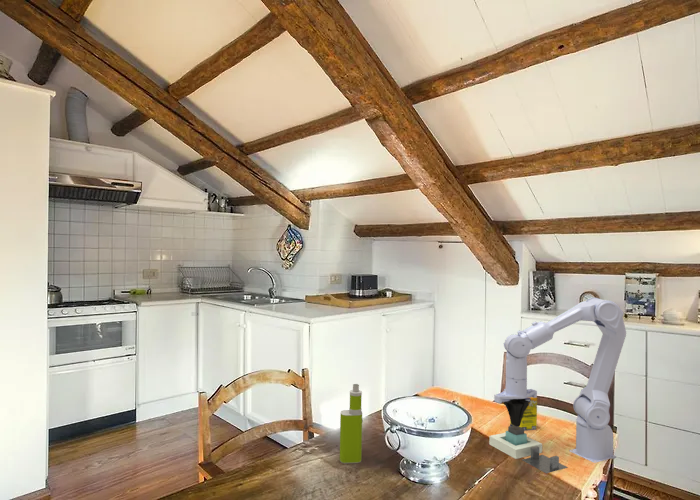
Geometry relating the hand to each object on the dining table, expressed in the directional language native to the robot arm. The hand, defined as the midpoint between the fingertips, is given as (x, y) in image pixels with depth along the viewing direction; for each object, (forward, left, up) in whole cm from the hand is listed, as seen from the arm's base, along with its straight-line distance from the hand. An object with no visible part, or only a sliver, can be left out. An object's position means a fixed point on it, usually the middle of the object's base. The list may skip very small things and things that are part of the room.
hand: (515, 425), depth 124 cm
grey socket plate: (0, +10, -7) cm, 12 cm away
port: (0, 0, -7) cm, 7 cm away
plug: (0, 0, -7) cm, 7 cm away
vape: (+46, -13, -7) cm, 48 cm away
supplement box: (-15, -11, -7) cm, 20 cm away
